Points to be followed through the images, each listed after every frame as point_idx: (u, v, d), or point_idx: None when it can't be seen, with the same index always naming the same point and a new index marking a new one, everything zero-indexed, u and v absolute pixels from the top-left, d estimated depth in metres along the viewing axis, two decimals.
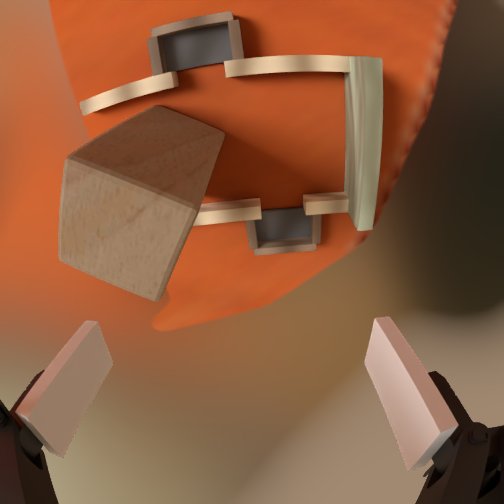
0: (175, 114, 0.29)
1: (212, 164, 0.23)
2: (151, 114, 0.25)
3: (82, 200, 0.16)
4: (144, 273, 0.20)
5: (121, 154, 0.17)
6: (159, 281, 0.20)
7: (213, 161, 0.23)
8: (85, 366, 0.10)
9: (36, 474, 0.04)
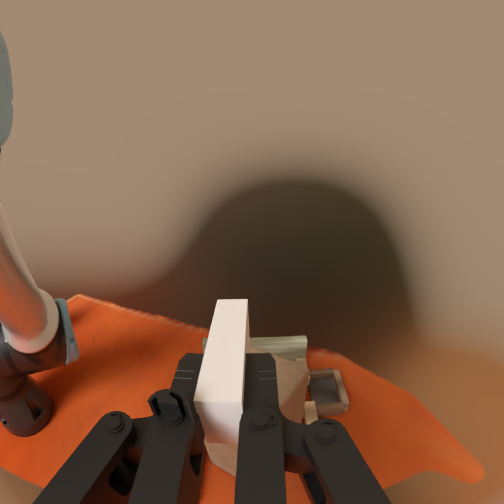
0: None
1: None
2: None
3: None
4: (278, 367, 0.29)
5: None
6: (286, 361, 0.30)
7: None
8: None
9: (192, 484, 0.06)
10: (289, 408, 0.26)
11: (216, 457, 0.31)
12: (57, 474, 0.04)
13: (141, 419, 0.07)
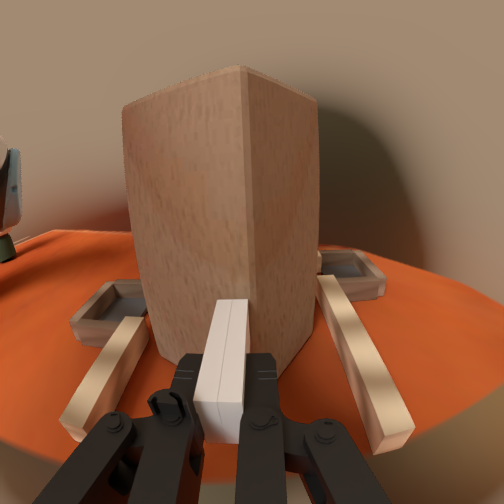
0: None
1: None
2: None
3: None
4: None
5: None
6: None
7: None
8: None
9: (192, 484, 0.06)
10: (294, 128, 0.15)
11: (162, 323, 0.19)
12: (57, 474, 0.04)
13: (141, 419, 0.07)
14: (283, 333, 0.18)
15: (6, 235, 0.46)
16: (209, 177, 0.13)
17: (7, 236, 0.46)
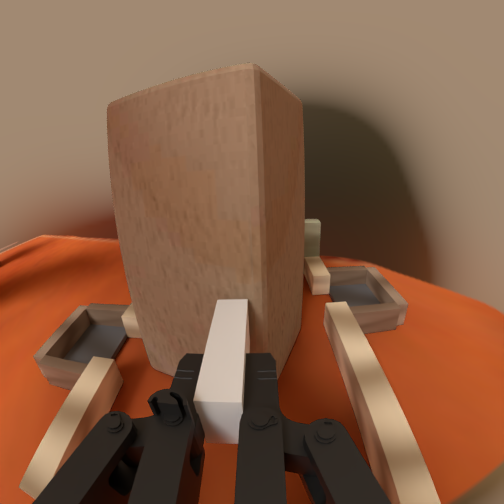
0: None
1: None
2: None
3: None
4: None
5: None
6: None
7: None
8: None
9: (192, 485, 0.06)
10: (289, 128, 0.15)
11: (155, 334, 0.18)
12: (57, 474, 0.04)
13: (141, 419, 0.07)
14: (283, 331, 0.18)
15: None
16: (217, 176, 0.12)
17: None
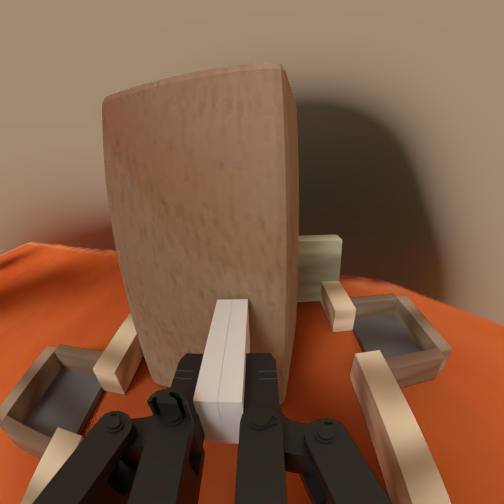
0: None
1: None
2: None
3: None
4: None
5: None
6: None
7: None
8: None
9: (192, 484, 0.06)
10: (294, 129, 0.15)
11: (161, 348, 0.16)
12: (57, 474, 0.04)
13: (141, 419, 0.07)
14: None
15: None
16: (241, 176, 0.12)
17: None
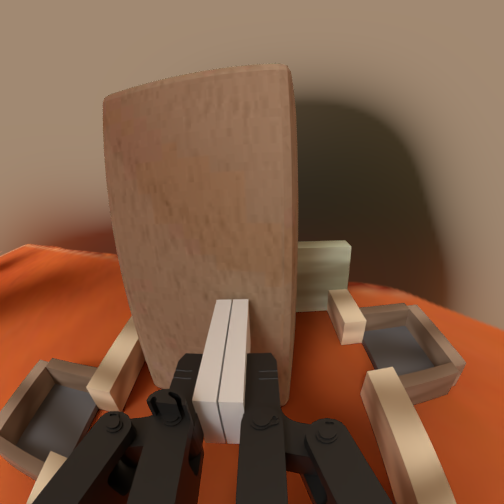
0: None
1: None
2: None
3: None
4: None
5: None
6: None
7: None
8: None
9: (191, 484, 0.06)
10: None
11: (163, 351, 0.16)
12: (56, 474, 0.04)
13: (140, 419, 0.07)
14: None
15: None
16: (247, 177, 0.12)
17: None
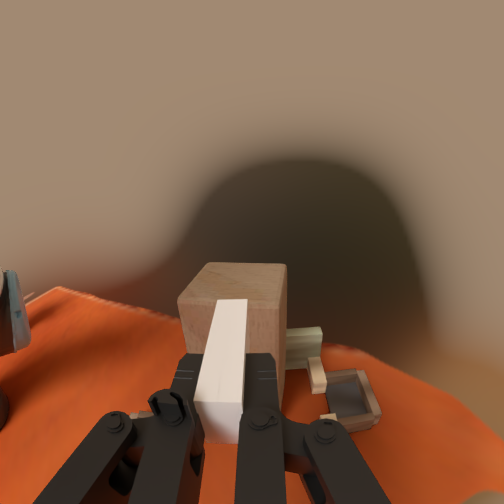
0: None
1: None
2: None
3: (207, 289, 0.27)
4: (258, 268, 0.32)
5: None
6: (262, 264, 0.33)
7: None
8: None
9: (192, 484, 0.06)
10: (284, 302, 0.30)
11: None
12: (57, 474, 0.04)
13: (141, 419, 0.07)
14: (281, 392, 0.32)
15: None
16: (258, 350, 0.26)
17: None
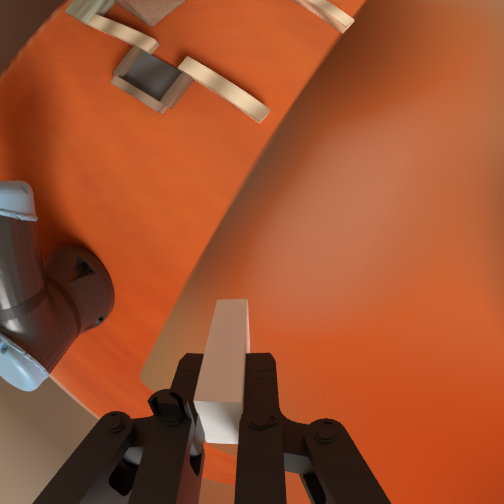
0: (135, 15, 0.25)
1: None
2: (133, 10, 0.22)
3: None
4: None
5: None
6: None
7: None
8: None
9: (192, 484, 0.06)
10: None
11: (153, 7, 0.23)
12: (57, 474, 0.04)
13: (141, 419, 0.07)
14: None
15: None
16: None
17: None
